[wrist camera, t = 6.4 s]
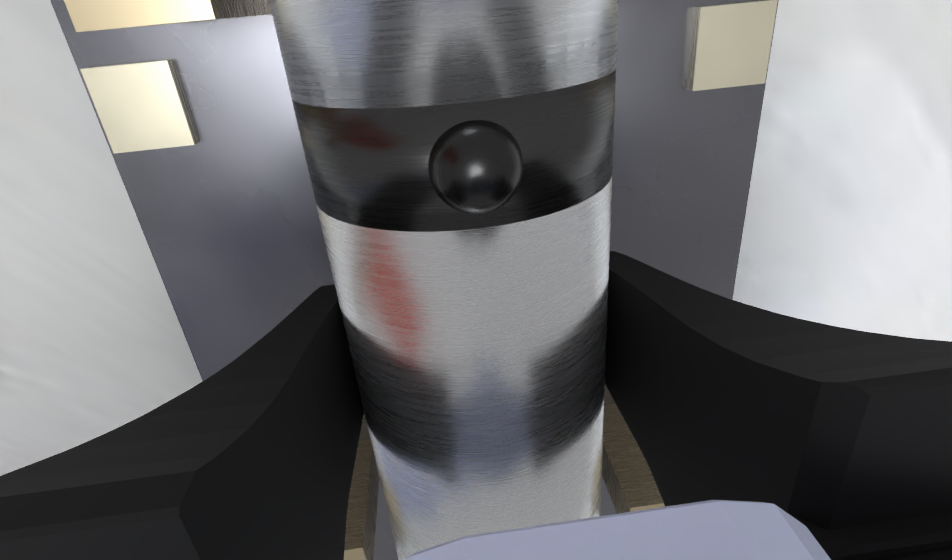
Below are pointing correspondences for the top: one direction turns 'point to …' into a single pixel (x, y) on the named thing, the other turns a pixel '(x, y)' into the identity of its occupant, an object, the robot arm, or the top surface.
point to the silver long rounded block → (466, 244)
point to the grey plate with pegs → (293, 203)
